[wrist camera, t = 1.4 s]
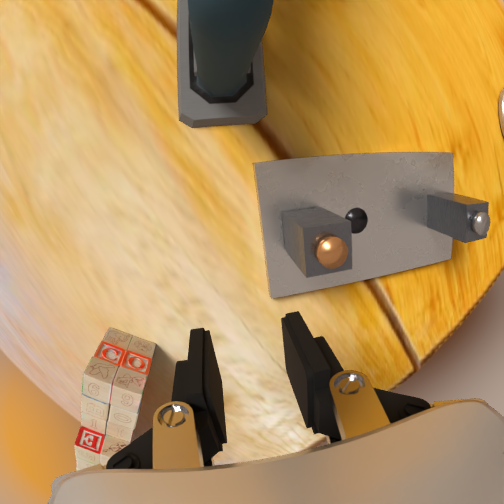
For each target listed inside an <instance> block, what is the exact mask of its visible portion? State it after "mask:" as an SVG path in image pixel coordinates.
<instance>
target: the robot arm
mask: <svg viewBox="0 0 504 504" xmlns="http://www.w3.org/2000/svg"><path fill="white" fill-rule="evenodd" d="M499 119H500V125H501V129H502V133H503V136H504V88H503V89H502V91H501V93H500V97H499ZM281 321H282V332H283V342H284V353H285V364H286V370H287V374H288V377H289V380H290V383H291V385H292V388H293V391H294V394H295V397H296V399H297V402H298V405H299V408H300V411H301V413H302V416H303V419H304V422H305V425H306V427H307V428H310V427H312V430H313V432H314V434H316V433H321V434H324V435H327V442H328V445H324V446H320V447H316V448H312V449H308V450H304V451H300V452H296V453H291V454H287V455H282V456H277V457H272V458H266V459H260V460H254V461H248V462H241V463H233V464H225V465H216V466H215V465H214V460H213V456H214V455H215V454H217V453H218V452H219V451H223V448H222V444H223V443H227V436H226V425H225V413H224V401H223V388H222V380H221V375H220V372H219V368H218V364H217V360H216V356H215V352H214V348H213V344H212V339H211V335H210V331H209V330H208V331H205V330H204V328H198V329H191V331H190V341H189V352H188V360H184V361H177V363H176V370H175V377H174V385H173V393H172V402H169V403H166V404H164V405H162V406H160V407H159V408H158V409H157V410H156V412H155V413H154V416H153V428H151V429H150V430H149V431H147V432H146V433H144V434H143V435H142V436H140V437H139V438H137V439H136V440H134V441H133V442H131V443H130V444H129V445H127V446H126V447H124V448H123V449H121V450H120V451H118V452H117V453H115V454H114V455H113V456H112V457H110V459H109V460H108V462H107V464H106V465H104V466H102V465H101V463H100V464H97V465H94V466H91V467H88V468H85V469H82V470H78V471H75V472H72V473H69V474H65V475H61V476H59V477H57V478H56V479H55V480H54V481H53V483H52V486H51V488H52V490H51V491H52V495H51V497H50V499H49V502H48V504H504V417H503V416H502V415H501V414H500V413H498V412H497V411H496V410H495V409H494V408H492V407H491V406H489V405H488V403H486V402H485V401H484V400H481V399H476V398H474V399H463V400H450V401H434V403H433V404H429V403H428V402H426V401H425V400H423V399H420V398H416V397H411V396H406V395H401V394H397V393H393V392H388V391H384V390H380V389H376V388H373V387H372V384H371V382H370V380H369V379H368V377H367V376H366V375H365V374H363V373H362V372H359V371H354V370H346V371H344V370H343V368H342V367H341V365H340V363H339V362H338V360H337V358H336V357H335V355H334V353H333V352H332V350H331V348H330V347H329V345H328V343H327V342H326V340H325V338H324V337H323V336H321V337H316V338H313V336H312V334H311V332H310V331H309V329H308V327H307V325H306V323H305V322H304V320H303V318H302V316H301V314H300V313H299V311H297V312H292V313H287V314H286V316H285V317H284V318H281Z"/></svg>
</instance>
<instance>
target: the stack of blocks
mask: <svg viewBox="0 0 504 504" xmlns="http://www.w3.org/2000/svg"><path fill="white" fill-rule="evenodd" d="M155 347H156V344H155V343H152V342H149V341H146V340H144V339H141V338H138V337H135V336H132V335H130V334H127V333H125V332H122V331H119V330H117V329H114V328H110V327H109V329H108V331H107V332H106V334H105V336H104V338H103V340H102V341H101V343H100V345H99V347H98V348H97V350H96V352H95V354H94V357H92V358H91V360H90V362H89V363H88V366H87V367H86V369H85V372H84V374H83V386H82V392H83V393H82V400H81V424H82V425H81V427H80V430H79V433H78V436H77V438H76V442H75V456H76V462H77V466H76V470H77V471H78V470H82V469H85V468H88V467H91V466H94V465H97V464H100V463H101V465H102V466H104V465H106V464H107V462H108V460H109V459H110V457H112V456H113V455H114V454H115V453H117V452H118V451H120V450H121V449H123V448H124V447H126V446H127V445H129V444H130V443H131V441H132V434H133V430H134V429H135V427H136V423H137V419H138V415H139V411H140V406H141V401H142V395H143V391H144V388H145V384H146V381H147V378H148V374H149V371H150V367H151V363H152V358H153V354H154V350H155Z"/></svg>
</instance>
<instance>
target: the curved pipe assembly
mask: <svg viewBox="0 0 504 504" xmlns="http://www.w3.org/2000/svg"><path fill="white" fill-rule="evenodd" d="M272 5H273V0H177V80H178V109H179V121H181V122H183V123H184V124H186V125H188V126H189V127H191V128H198V127H209V126H222V125H239V124H256V123H257V122H258V121H259V120H261V119H262V118H263V117H265V116H266V115H267V105H266V90H265V75H264V61H263V47H262V37H263V35H264V32H265V30H266V28H267V24H268V21H269V18H270V15H271V11H272Z"/></svg>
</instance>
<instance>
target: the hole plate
mask: <svg viewBox="0 0 504 504" xmlns="http://www.w3.org/2000/svg"><path fill="white" fill-rule="evenodd" d="M253 169H254V177H255V184H256V192H257V200H258V208H259V216H260V224H261V232H262V240H263V248H264V256H265V264H266V272H267V281H268V289H269V295H270V297H271V299H272V298H277V297H283V296H288V295H293V294H298V293H304V292H309V291H314V290H319V289H324V288H329V287H334V286H338V285H343V284H348V283H352V282H357V281H362V280H366V279H371V278H375V277H380V276H384V275H388V274H393V273H397V272H401V271H405V270H409V269H413V268H417V267H421V266H425V265H429V264H433V263H437V262H441V261H445V260H449V259H451V254H452V241H453V238H452V237H450V236H447V235H445V234H443V233H440V232H438V231H435V230H433V229H430V228H428V227H427V194H437V193H448V192H449V193H454V167H453V153H449V152H387V153H361V154H342V155H328V156H315V157H303V158H293V159H283V160H274V161H266V162H257V163H253ZM317 207H322V208H324V209H326V210H328V211H331V212H333V213H335V214H337V215H339V216H341V217H343V218H345V219H347V220H350V221H351V231H352V269H350V270H345V271H340V272H335V273H330V274H325V275H319V276H314V277H309V278H306V277H305V276H304V274H303V273H302V272H301V270H300V269H299V268H298V267H297V265H296V264H295V263H294V261H293V260H292V259H291V258H290V256H289V255H288V254H287V252H286V247H285V237H284V227H283V218H282V212H288V211H295V210H302V209H310V208H317Z"/></svg>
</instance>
